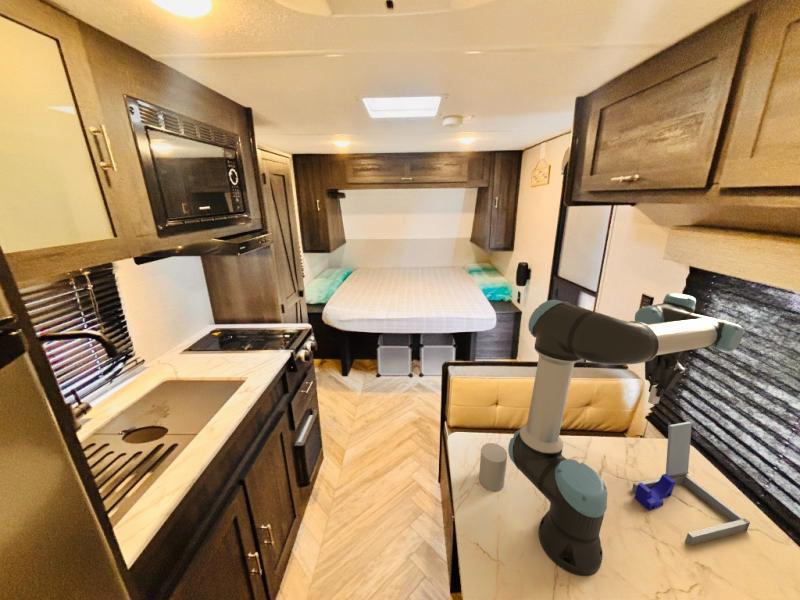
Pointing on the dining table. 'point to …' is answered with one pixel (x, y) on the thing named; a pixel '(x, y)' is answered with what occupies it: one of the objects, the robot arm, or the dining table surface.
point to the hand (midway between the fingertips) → (653, 402)
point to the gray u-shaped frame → (717, 531)
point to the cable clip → (654, 493)
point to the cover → (678, 449)
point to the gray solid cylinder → (492, 467)
